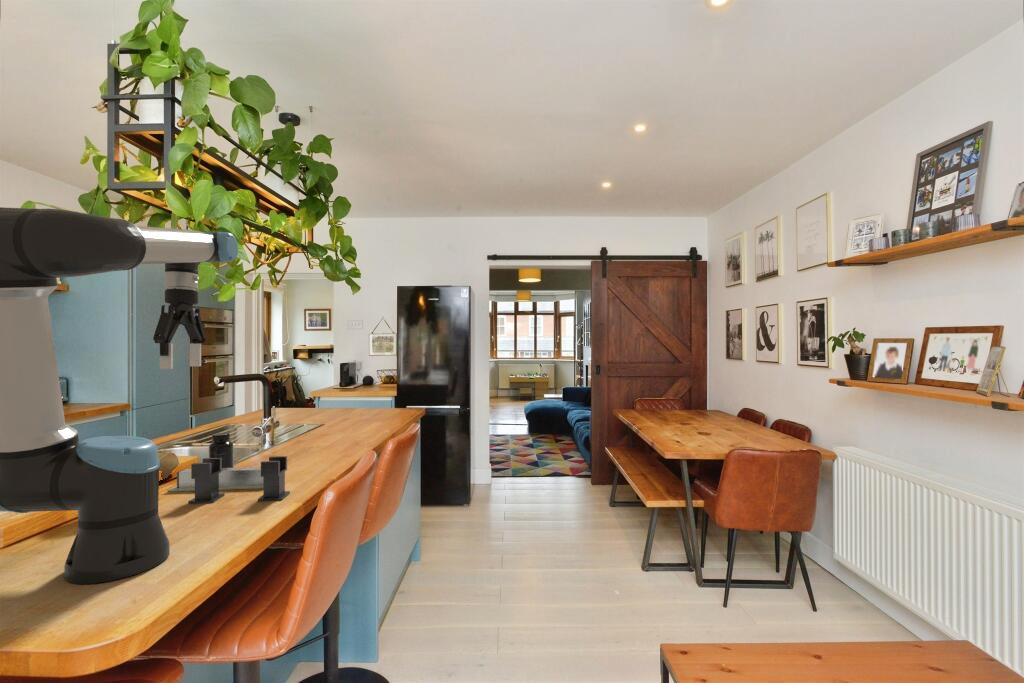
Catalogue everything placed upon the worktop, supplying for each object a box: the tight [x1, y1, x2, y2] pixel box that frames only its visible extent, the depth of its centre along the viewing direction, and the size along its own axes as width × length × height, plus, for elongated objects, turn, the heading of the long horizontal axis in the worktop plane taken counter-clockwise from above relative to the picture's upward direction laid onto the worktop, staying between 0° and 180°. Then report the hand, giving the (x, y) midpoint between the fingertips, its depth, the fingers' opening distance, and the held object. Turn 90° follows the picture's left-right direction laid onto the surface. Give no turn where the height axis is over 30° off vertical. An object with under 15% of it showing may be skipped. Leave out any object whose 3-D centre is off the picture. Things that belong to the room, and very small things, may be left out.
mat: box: [167, 485, 263, 493], centre depth 139 cm, size 7×28×1 cm, turn 96°
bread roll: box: [158, 451, 180, 480], centre depth 146 cm, size 10×15×8 cm, turn 18°
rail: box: [176, 466, 263, 488], centre depth 139 cm, size 4×25×4 cm, turn 96°
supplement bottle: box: [208, 432, 234, 468], centre depth 155 cm, size 7×7×12 cm
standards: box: [188, 455, 291, 504], centre depth 128 cm, size 6×23×10 cm, turn 96°
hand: (181, 367), depth 130 cm, fingers open, 13 cm apart
